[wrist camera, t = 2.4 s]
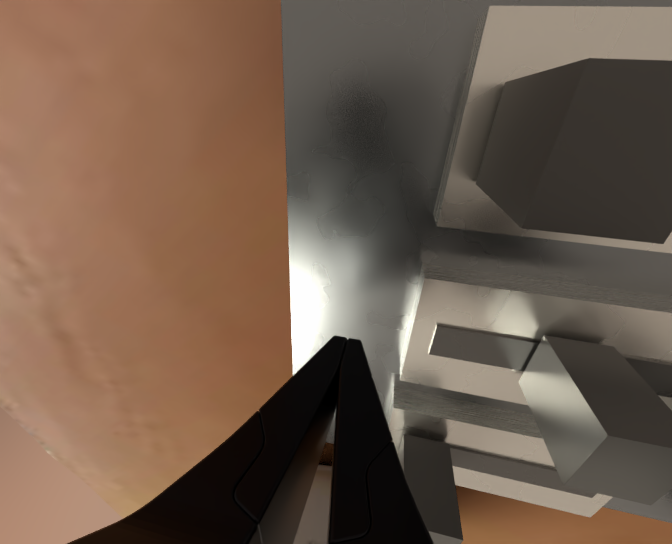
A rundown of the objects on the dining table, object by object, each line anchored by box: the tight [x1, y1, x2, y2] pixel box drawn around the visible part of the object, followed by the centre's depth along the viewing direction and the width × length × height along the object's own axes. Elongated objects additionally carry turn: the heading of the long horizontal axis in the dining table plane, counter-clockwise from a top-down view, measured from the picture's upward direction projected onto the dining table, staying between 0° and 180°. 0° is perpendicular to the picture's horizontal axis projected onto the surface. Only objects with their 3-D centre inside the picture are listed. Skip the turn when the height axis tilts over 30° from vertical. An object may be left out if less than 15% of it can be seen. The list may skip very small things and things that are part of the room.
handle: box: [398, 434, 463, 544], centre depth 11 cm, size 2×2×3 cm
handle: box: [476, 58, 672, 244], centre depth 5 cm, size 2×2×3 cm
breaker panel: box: [281, 0, 672, 523], centre depth 10 cm, size 18×18×3 cm
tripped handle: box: [519, 335, 672, 505], centre depth 7 cm, size 2×2×3 cm
